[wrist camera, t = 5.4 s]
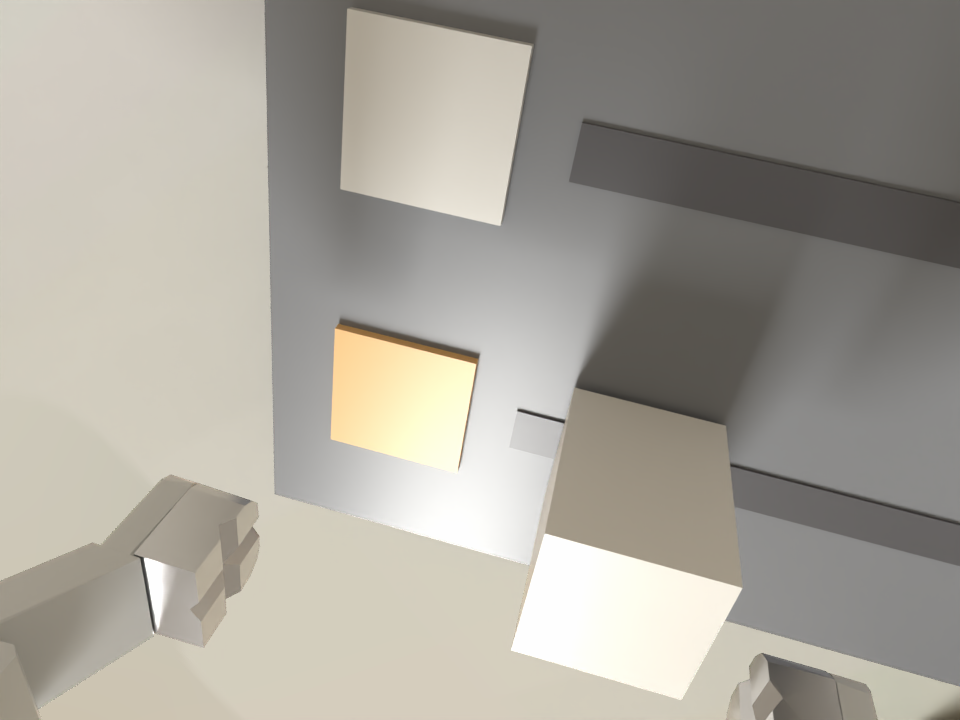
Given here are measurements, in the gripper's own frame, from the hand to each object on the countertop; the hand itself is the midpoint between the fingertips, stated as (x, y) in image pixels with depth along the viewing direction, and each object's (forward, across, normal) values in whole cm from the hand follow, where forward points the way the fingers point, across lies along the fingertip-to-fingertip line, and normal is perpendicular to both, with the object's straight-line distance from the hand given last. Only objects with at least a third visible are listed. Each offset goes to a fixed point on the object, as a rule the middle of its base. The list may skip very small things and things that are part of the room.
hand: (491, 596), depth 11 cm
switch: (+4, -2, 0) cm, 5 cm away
